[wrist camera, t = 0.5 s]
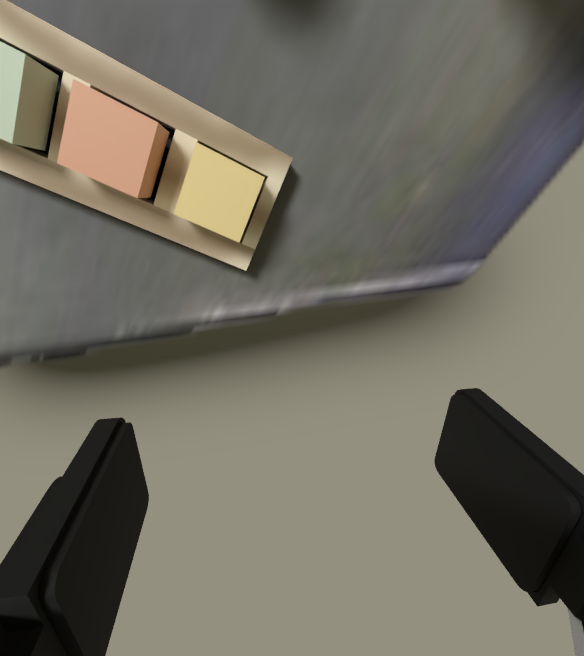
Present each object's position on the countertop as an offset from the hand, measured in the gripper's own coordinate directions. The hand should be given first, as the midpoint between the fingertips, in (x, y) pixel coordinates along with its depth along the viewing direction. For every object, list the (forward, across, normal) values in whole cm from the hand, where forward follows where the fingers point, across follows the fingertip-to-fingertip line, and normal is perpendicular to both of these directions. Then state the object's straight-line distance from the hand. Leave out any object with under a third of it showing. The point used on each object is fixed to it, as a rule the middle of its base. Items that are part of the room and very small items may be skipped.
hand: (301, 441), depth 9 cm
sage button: (+28, +20, -14) cm, 36 cm away
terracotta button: (+28, +11, -10) cm, 31 cm away
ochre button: (+28, +3, -6) cm, 28 cm away
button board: (+30, +11, -10) cm, 34 cm away
